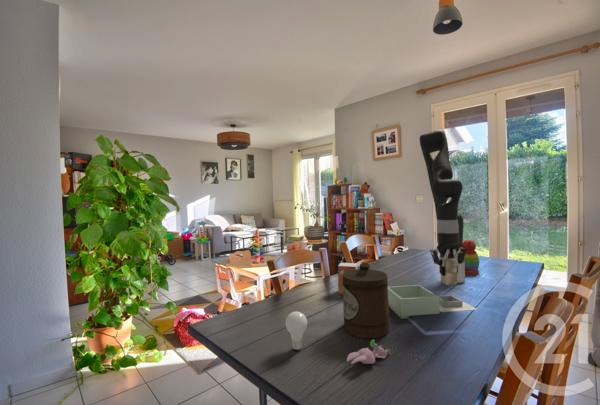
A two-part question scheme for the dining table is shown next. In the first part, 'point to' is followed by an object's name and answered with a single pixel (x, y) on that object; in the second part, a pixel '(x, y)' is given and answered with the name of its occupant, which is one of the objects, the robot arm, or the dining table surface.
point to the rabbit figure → (368, 354)
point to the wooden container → (366, 302)
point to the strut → (450, 271)
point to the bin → (412, 301)
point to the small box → (341, 269)
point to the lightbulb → (296, 328)
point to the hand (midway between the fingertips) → (448, 274)
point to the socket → (453, 304)
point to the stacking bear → (470, 258)
